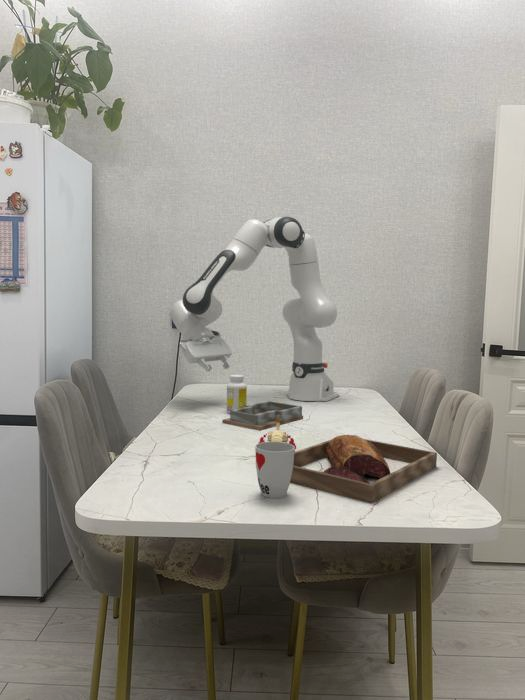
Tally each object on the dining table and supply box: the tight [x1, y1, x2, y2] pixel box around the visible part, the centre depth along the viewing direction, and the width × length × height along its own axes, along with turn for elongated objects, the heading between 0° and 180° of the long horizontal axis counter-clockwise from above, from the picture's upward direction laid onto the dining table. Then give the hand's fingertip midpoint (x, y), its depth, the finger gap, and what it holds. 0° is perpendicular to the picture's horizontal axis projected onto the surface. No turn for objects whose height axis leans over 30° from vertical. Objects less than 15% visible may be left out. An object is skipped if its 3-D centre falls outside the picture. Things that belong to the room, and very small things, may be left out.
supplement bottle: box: [226, 374, 248, 415], centre depth 204 cm, size 7×7×13 cm
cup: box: [254, 441, 296, 499], centre depth 123 cm, size 8×8×10 cm
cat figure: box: [257, 415, 297, 450], centre depth 155 cm, size 10×9×25 cm
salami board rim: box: [290, 438, 438, 504], centre depth 140 cm, size 33×26×4 cm
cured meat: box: [322, 434, 392, 484], centre depth 139 cm, size 18×25×7 cm
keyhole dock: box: [221, 400, 304, 431], centre depth 192 cm, size 23×15×4 cm, turn 142°
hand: (218, 368), depth 208 cm, fingers open, 8 cm apart
